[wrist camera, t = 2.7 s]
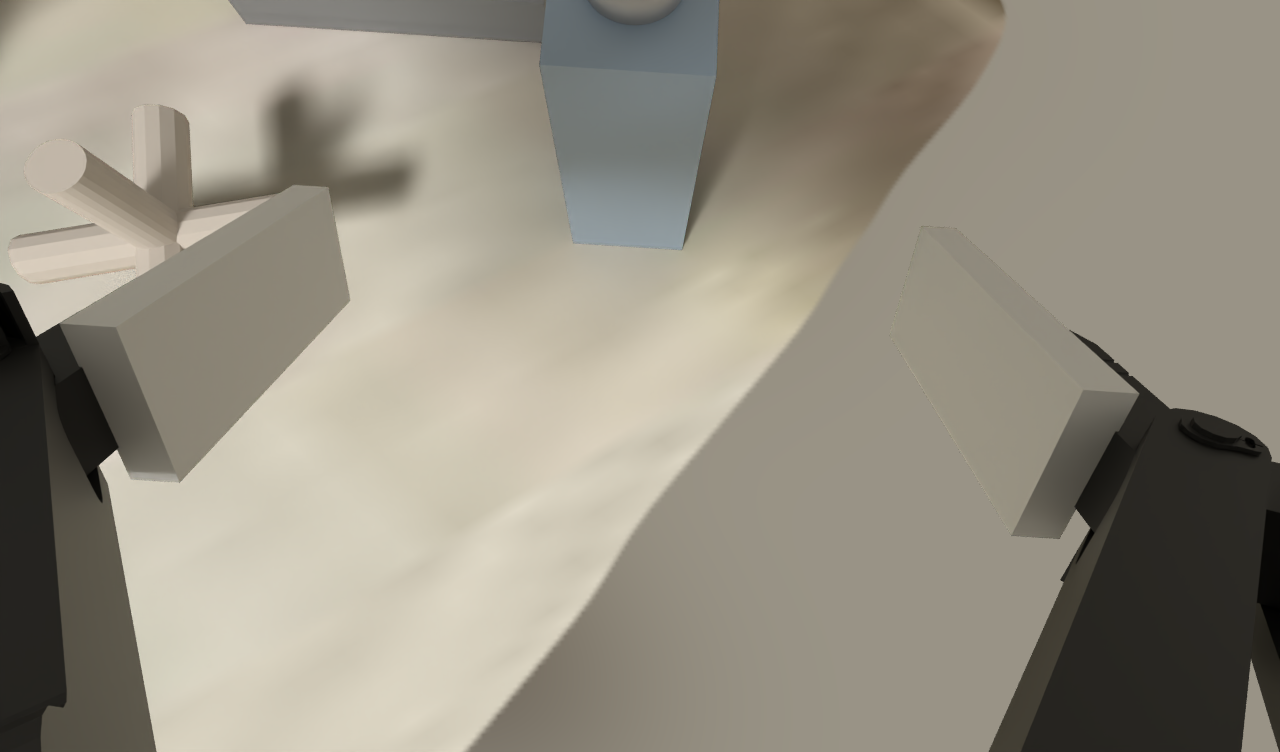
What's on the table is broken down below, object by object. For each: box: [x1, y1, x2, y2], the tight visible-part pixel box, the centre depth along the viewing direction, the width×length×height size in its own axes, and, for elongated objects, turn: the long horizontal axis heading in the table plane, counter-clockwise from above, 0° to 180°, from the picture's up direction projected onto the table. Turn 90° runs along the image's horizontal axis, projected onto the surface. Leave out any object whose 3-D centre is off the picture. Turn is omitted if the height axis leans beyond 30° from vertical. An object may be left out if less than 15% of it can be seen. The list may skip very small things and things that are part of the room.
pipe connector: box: [8, 105, 279, 284], centre depth 25 cm, size 10×10×10 cm
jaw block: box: [539, 0, 719, 250], centre depth 25 cm, size 5×6×13 cm
